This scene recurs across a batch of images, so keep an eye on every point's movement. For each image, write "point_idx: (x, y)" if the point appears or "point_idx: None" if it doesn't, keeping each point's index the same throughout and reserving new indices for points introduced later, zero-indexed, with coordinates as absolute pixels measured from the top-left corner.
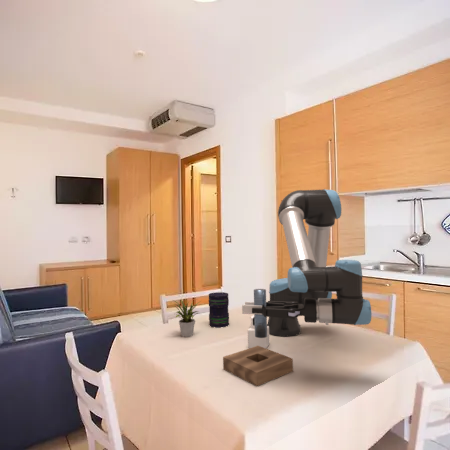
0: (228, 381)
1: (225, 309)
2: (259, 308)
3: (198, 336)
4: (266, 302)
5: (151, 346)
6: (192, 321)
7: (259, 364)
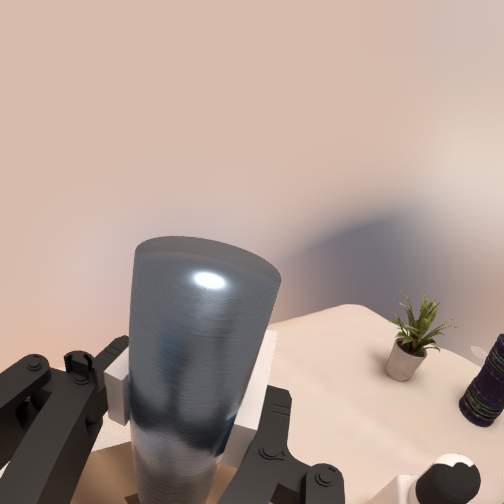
0: (108, 433)
1: (501, 390)
2: (103, 367)
3: (398, 391)
4: (263, 447)
5: (317, 332)
6: (418, 356)
7: (102, 496)
